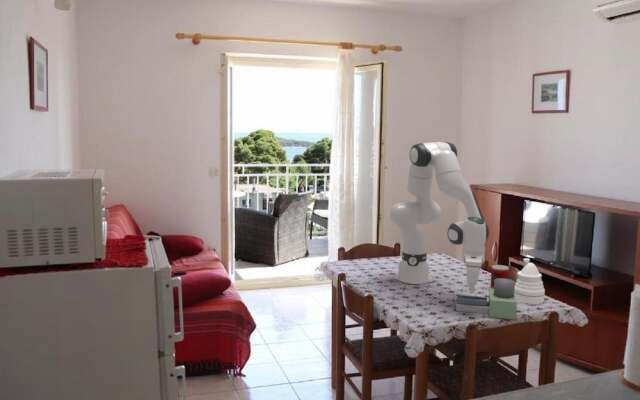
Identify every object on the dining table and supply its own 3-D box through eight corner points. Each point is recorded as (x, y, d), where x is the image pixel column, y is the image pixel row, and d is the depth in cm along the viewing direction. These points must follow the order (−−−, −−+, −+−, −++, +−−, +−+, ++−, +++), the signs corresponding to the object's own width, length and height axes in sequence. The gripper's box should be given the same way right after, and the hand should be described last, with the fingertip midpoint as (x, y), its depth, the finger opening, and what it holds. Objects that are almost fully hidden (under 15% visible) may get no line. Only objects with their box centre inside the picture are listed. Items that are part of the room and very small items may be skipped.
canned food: (507, 288, 261) (508, 265, 260) (508, 293, 254) (509, 269, 252) (490, 286, 263) (491, 264, 262) (490, 291, 256) (491, 268, 254)
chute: (456, 306, 235) (457, 294, 234) (486, 308, 232) (486, 297, 231) (456, 309, 230) (456, 298, 229) (486, 312, 227) (487, 300, 226)
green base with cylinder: (457, 301, 241) (458, 272, 239) (513, 306, 234) (514, 276, 233) (455, 313, 224) (457, 282, 223) (515, 319, 218) (517, 287, 216)
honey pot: (507, 299, 244) (509, 259, 242) (521, 293, 253) (523, 255, 251) (536, 306, 235) (538, 265, 233) (549, 300, 244) (551, 260, 242)
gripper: (466, 250, 239) (464, 281, 241) (465, 262, 220) (463, 295, 222) (481, 251, 237) (479, 283, 239) (481, 263, 218) (479, 297, 220)
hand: (471, 289), depth 230 cm, fingers open, 8 cm apart
